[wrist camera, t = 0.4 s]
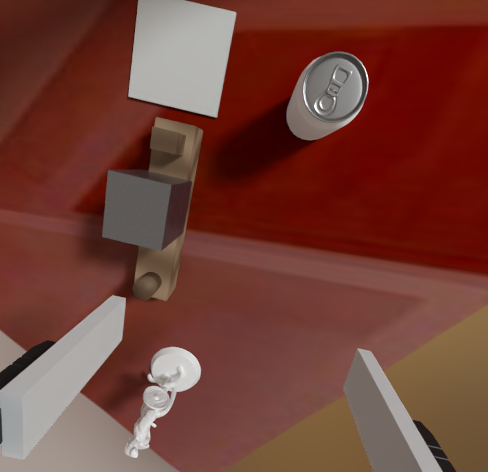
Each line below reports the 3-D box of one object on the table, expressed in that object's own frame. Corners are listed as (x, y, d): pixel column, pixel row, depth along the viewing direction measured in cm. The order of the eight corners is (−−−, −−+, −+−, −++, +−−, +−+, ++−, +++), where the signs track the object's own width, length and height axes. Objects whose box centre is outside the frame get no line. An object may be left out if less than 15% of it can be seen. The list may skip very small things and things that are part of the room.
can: (277, 127, 35) (284, 107, 24) (301, 77, 34) (321, 30, 22) (320, 149, 36) (347, 140, 24) (346, 101, 34) (389, 67, 22)
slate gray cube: (143, 169, 34) (108, 169, 26) (192, 181, 34) (171, 185, 26) (136, 221, 36) (102, 236, 28) (183, 233, 36) (161, 251, 28)
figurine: (166, 337, 45) (120, 419, 30) (210, 365, 45) (186, 458, 31) (141, 372, 47) (87, 464, 32) (183, 398, 48) (149, 499, 33)
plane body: (167, 122, 36) (145, 111, 29) (203, 130, 36) (189, 122, 29) (144, 281, 42) (122, 302, 35) (175, 288, 42) (158, 311, 35)
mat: (140, -9, 33) (139, -11, 32) (236, 14, 32) (235, 12, 32) (129, 97, 36) (128, 96, 35) (216, 117, 36) (216, 117, 35)
